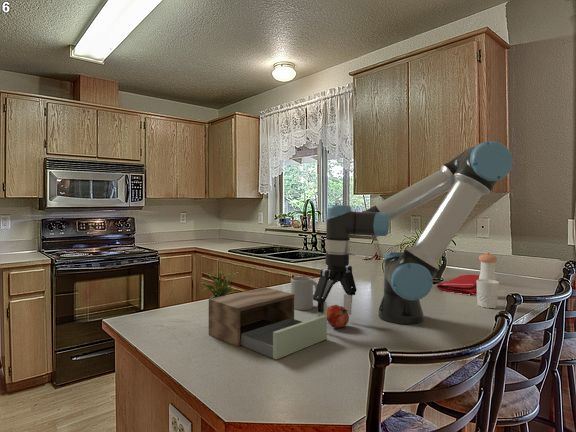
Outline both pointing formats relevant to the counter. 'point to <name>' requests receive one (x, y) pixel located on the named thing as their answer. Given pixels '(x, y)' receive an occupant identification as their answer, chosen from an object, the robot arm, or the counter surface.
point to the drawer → (285, 336)
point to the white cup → (487, 293)
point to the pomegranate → (337, 316)
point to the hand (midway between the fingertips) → (335, 318)
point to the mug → (303, 292)
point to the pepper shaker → (487, 266)
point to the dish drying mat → (460, 284)
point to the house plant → (219, 285)
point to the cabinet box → (247, 311)
